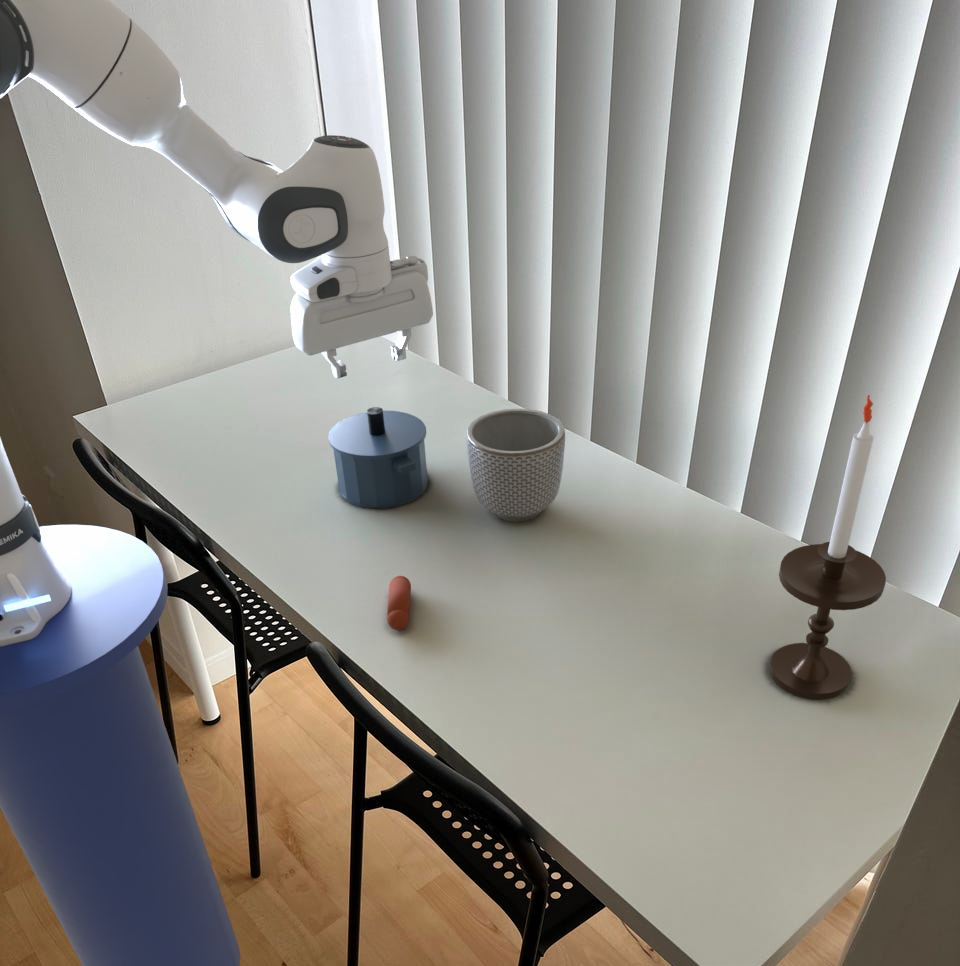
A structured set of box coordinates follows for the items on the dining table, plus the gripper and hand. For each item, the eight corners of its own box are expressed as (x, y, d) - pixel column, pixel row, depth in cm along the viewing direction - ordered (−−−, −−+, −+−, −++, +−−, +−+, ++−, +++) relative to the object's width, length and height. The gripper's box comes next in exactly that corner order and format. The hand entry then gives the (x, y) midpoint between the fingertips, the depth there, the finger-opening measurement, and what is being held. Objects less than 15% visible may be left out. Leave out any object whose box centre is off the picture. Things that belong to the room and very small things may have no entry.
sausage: (409, 634, 123) (408, 616, 121) (387, 634, 123) (385, 617, 121) (411, 588, 131) (410, 571, 129) (390, 589, 131) (389, 571, 129)
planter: (583, 506, 145) (585, 426, 137) (520, 546, 137) (519, 464, 129) (513, 476, 153) (511, 399, 144) (450, 513, 145) (445, 433, 137)
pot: (371, 526, 143) (365, 474, 138) (318, 473, 156) (310, 424, 151) (452, 498, 148) (448, 447, 143) (393, 449, 161) (388, 401, 156)
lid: (355, 473, 139) (351, 443, 136) (313, 434, 149) (309, 405, 146) (444, 444, 145) (442, 415, 142) (398, 409, 155) (395, 381, 152)
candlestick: (810, 717, 109) (879, 430, 87) (741, 665, 116) (789, 387, 94) (878, 681, 113) (960, 398, 91) (808, 633, 120) (868, 359, 98)
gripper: (414, 247, 137) (423, 342, 146) (278, 279, 129) (296, 378, 138) (436, 258, 133) (444, 356, 141) (297, 293, 125) (314, 394, 134)
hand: (369, 367), depth 140 cm, fingers open, 8 cm apart
